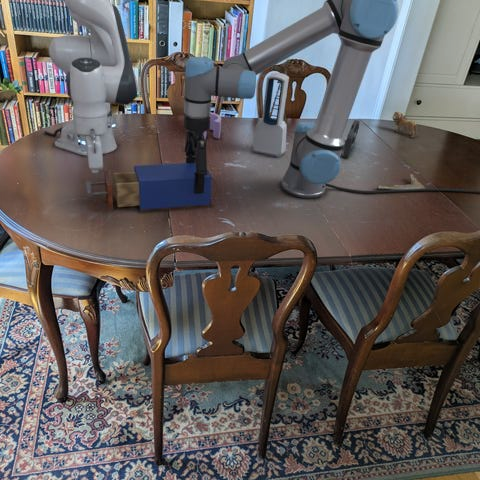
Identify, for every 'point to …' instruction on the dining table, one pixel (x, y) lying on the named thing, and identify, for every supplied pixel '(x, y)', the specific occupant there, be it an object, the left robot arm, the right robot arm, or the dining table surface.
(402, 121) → the lion figurine
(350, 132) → the handheld gaming console
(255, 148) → the electronic device
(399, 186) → the jawbone
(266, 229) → the dining table surface
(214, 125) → the clip
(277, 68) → the miniature windmill
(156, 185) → the navy blue box
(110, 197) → the drawer
